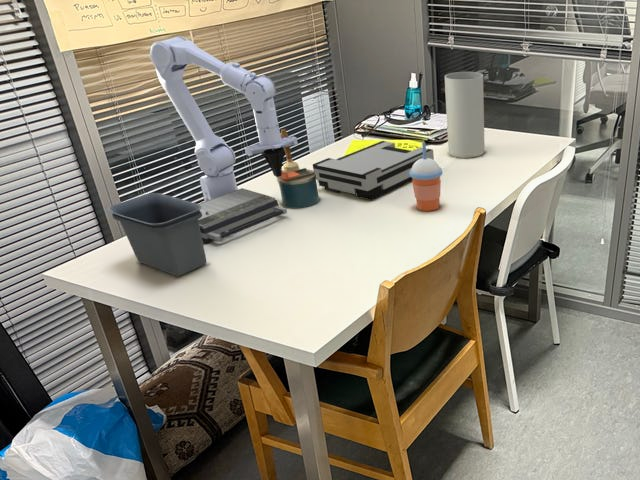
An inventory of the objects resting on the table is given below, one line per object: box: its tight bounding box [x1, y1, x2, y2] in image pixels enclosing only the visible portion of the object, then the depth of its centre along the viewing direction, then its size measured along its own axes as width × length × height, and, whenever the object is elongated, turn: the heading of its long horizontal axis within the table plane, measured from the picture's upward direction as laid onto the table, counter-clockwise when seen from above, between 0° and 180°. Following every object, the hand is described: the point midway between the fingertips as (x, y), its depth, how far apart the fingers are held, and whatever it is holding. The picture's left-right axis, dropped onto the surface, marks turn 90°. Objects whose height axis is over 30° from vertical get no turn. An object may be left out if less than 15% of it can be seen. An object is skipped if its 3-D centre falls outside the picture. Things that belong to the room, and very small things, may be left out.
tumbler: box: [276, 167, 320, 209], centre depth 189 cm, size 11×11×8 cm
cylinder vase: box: [444, 71, 486, 159], centre depth 219 cm, size 12×12×25 cm
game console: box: [312, 140, 435, 201], centre depth 202 cm, size 21×32×8 cm, turn 147°
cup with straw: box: [409, 142, 443, 212], centre depth 180 cm, size 9×9×18 cm
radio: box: [198, 187, 288, 244], centre depth 177 cm, size 24×5×20 cm
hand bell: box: [280, 128, 300, 172], centre depth 202 cm, size 8×8×16 cm
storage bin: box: [107, 192, 207, 277], centre depth 156 cm, size 21×16×14 cm
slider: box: [279, 170, 300, 180], centre depth 185 cm, size 4×4×2 cm
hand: (277, 175), depth 183 cm, fingers closed
